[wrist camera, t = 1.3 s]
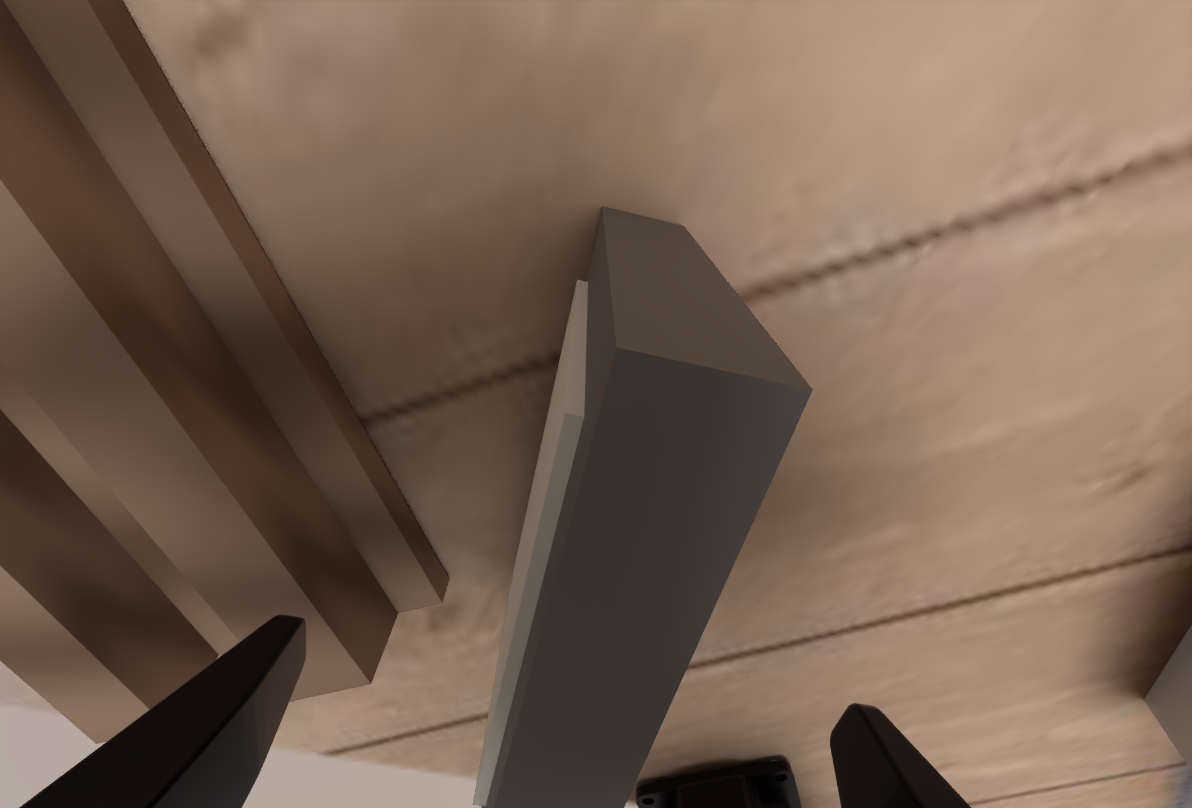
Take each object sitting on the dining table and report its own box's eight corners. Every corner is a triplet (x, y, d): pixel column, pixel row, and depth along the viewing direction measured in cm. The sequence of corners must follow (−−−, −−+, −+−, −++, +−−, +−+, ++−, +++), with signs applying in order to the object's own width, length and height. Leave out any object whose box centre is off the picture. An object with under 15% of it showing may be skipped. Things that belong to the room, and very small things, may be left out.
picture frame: (693, 228, 14) (835, 394, 6) (584, 588, 19) (579, 936, 11) (591, 203, 13) (591, 341, 5) (510, 576, 19) (449, 923, 11)
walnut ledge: (449, 579, 19) (420, 673, 16) (136, 653, 20) (53, 752, 17) (-18, -246, 10) (-300, -411, 7) (-508, -2, 11) (-922, -44, 8)
